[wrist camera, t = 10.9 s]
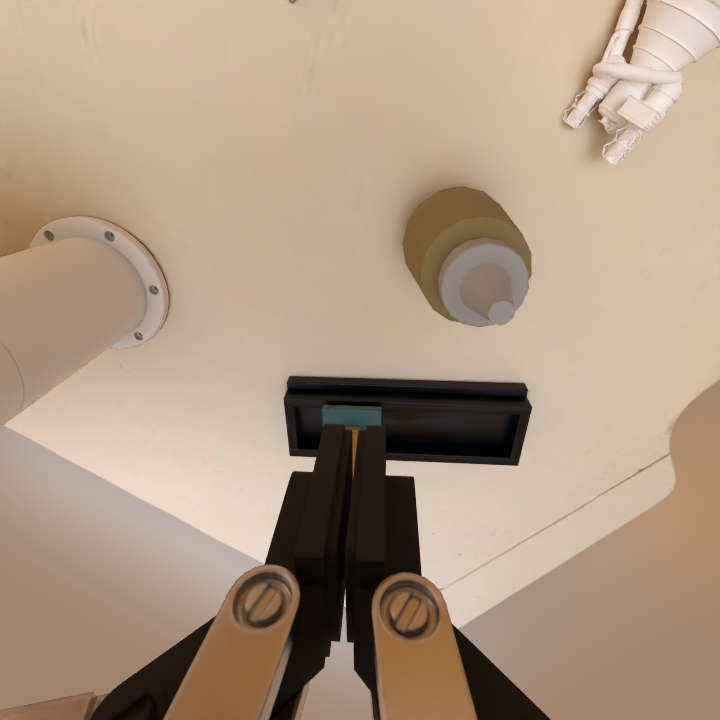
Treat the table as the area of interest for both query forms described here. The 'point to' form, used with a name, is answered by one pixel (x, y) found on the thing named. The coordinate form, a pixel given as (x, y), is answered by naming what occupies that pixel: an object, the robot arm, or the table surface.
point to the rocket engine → (646, 67)
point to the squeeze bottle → (468, 257)
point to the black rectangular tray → (418, 417)
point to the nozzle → (352, 419)
